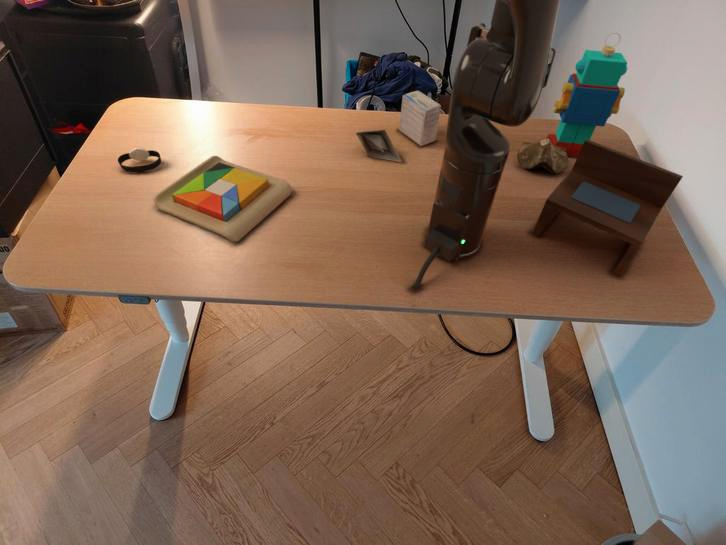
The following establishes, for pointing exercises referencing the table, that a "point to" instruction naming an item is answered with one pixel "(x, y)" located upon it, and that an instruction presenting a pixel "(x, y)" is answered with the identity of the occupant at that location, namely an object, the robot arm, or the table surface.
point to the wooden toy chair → (611, 195)
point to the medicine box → (419, 117)
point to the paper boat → (378, 145)
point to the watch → (139, 155)
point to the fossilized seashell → (543, 156)
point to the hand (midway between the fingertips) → (496, 100)
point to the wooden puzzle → (223, 197)
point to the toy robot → (589, 98)
